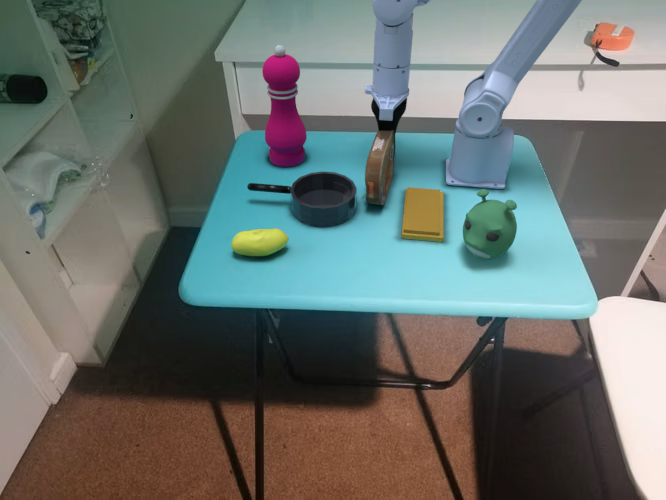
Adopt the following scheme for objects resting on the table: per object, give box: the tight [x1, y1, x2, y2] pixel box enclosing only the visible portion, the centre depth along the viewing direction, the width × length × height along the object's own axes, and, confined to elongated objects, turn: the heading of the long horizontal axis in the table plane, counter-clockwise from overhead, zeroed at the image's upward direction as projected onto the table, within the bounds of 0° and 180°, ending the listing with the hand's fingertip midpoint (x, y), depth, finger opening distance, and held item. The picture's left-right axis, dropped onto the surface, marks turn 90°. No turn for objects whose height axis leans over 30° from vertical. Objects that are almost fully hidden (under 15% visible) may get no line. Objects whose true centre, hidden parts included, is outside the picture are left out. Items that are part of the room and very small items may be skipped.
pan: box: [290, 171, 358, 228], centre depth 83 cm, size 10×10×4 cm
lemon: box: [230, 228, 290, 257], centre depth 75 cm, size 4×8×4 cm, turn 95°
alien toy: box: [462, 188, 518, 260], centre depth 72 cm, size 7×8×10 cm
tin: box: [364, 130, 396, 206], centre depth 86 cm, size 15×3×8 cm, turn 166°
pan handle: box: [246, 182, 292, 195], centre depth 84 cm, size 7×1×1 cm, turn 81°
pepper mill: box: [261, 44, 308, 168], centre depth 90 cm, size 7×7×20 cm
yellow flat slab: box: [401, 186, 445, 243], centre depth 82 cm, size 6×12×1 cm, turn 171°
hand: (386, 140), depth 92 cm, fingers closed
